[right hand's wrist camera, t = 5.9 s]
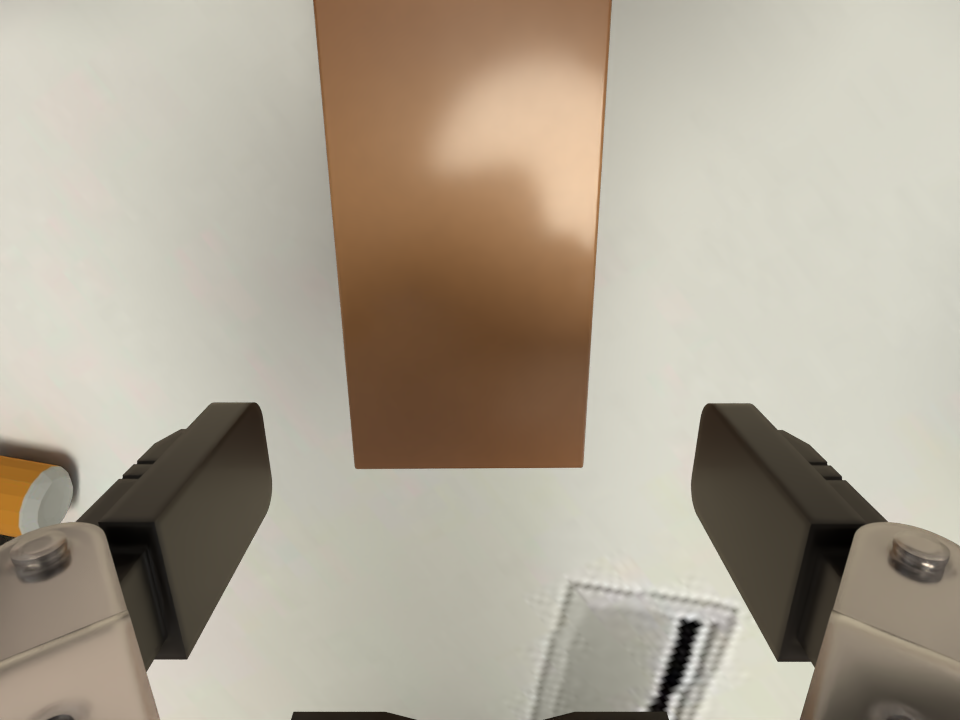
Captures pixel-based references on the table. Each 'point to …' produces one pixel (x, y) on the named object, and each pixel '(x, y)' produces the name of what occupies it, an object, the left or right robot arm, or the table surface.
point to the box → (465, 223)
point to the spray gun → (31, 496)
